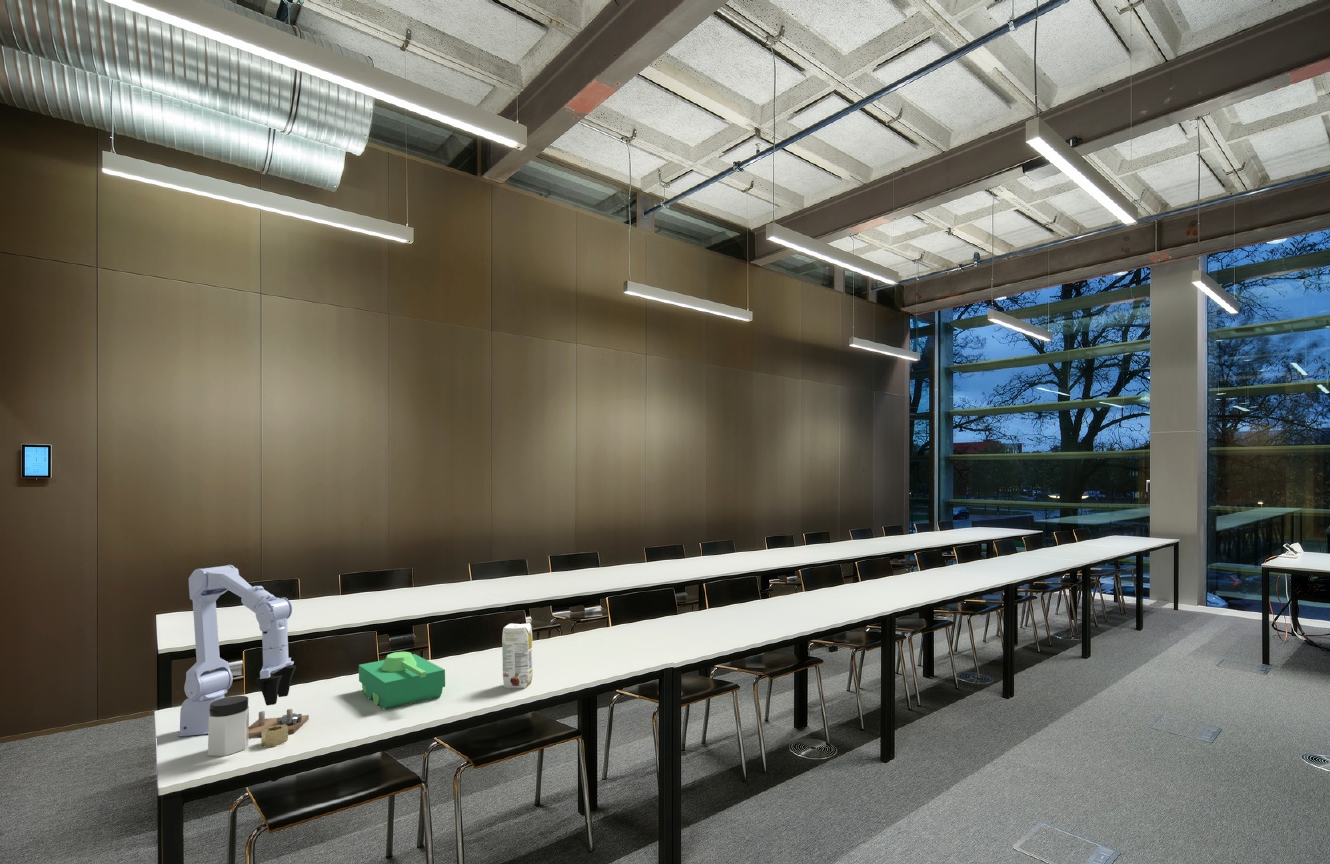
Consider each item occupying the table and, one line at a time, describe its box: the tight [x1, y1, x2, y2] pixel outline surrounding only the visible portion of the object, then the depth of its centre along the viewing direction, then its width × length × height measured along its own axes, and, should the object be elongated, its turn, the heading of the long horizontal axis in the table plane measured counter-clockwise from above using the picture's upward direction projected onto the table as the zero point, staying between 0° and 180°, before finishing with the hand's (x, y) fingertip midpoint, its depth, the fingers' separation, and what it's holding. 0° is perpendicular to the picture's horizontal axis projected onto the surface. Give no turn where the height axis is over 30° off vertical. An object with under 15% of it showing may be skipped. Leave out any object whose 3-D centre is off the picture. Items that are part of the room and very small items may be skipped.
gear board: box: [248, 708, 310, 739], centre depth 178 cm, size 13×11×5 cm
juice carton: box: [501, 622, 534, 689], centre depth 210 cm, size 8×9×19 cm
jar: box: [207, 695, 250, 757], centre depth 165 cm, size 9×8×12 cm
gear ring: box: [260, 724, 289, 748], centre depth 168 cm, size 5×5×4 cm
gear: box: [276, 712, 302, 726], centre depth 179 cm, size 6×6×2 cm
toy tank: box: [358, 651, 446, 711], centre depth 202 cm, size 18×12×35 cm
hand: (277, 700), depth 170 cm, fingers open, 7 cm apart
